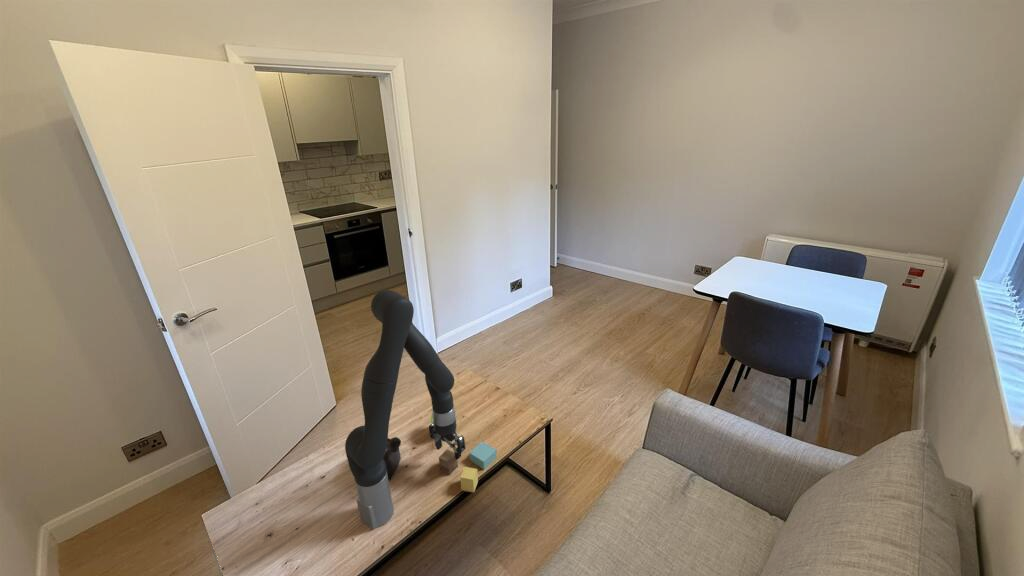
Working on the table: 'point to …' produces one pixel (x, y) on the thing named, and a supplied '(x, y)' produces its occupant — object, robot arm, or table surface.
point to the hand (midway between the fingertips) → (448, 453)
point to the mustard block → (469, 479)
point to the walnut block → (448, 462)
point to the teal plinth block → (483, 455)
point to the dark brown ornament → (392, 456)
